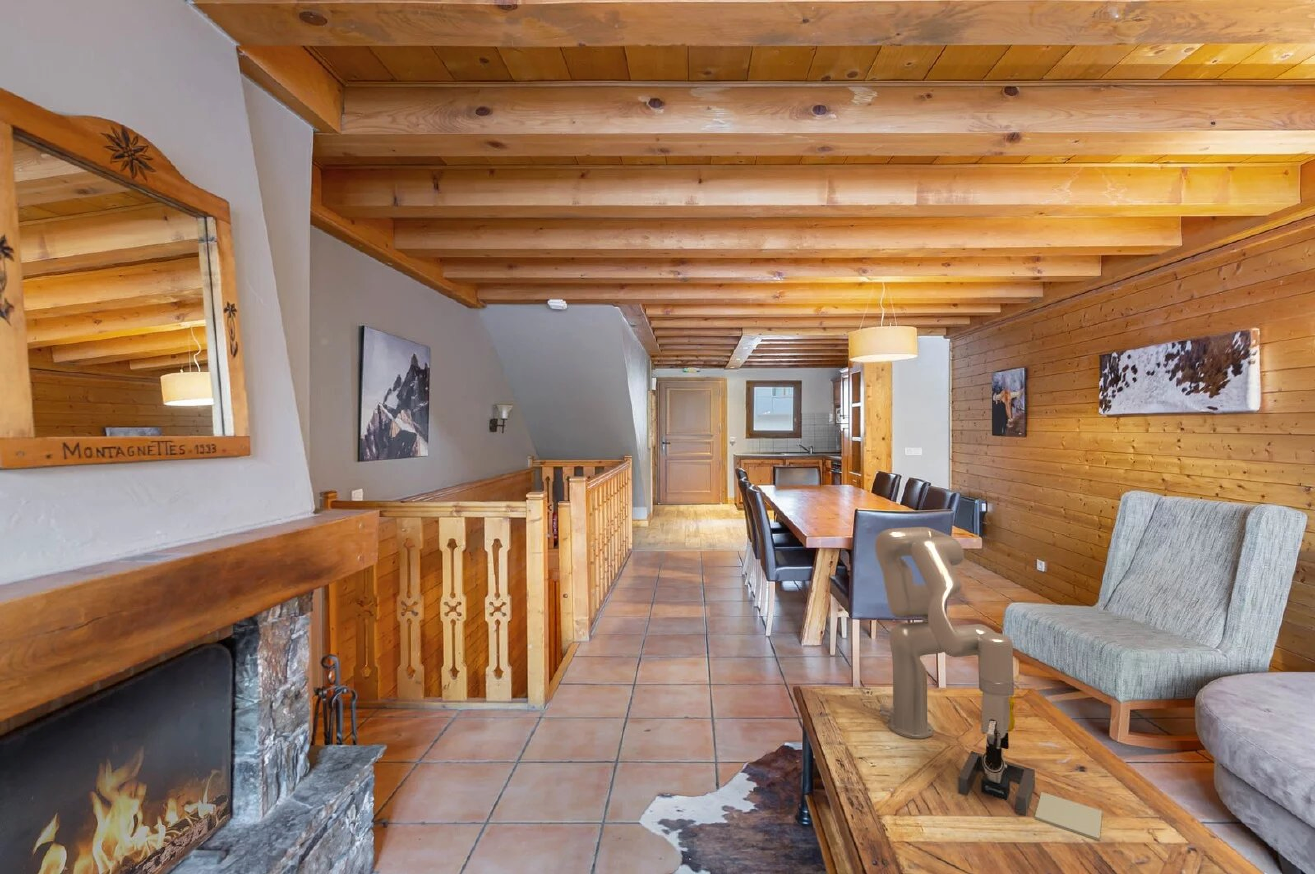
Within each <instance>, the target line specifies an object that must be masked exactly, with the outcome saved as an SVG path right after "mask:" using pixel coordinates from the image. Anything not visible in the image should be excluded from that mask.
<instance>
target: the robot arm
mask: <svg viewBox="0 0 1315 874" xmlns="http://www.w3.org/2000/svg"><path fill="white" fill-rule="evenodd" d="M874 550H875V555H876V558H877V562H878V563H879V567H880V569H881V572H882V576H883V582H884V588H885V592H886V599H887V604H888V608H889V611H890V613H891V614H892V615H893V616H894V617H895V618H898V619H910V618H921V620H922V621H912V622H903V623H902V622H901V623H899V624H896V625H895V626H892V628H891V629H890V631H889V634H888V640H889V645H890V652H891V658H892V707H890V708H889V707H887V706H885V705H879V707H878V708H879V709H878V710H879V711H878V712H880V716H883V717H886V718H888V719H887V726H888V729H890V731H891V732H893V733H894V734H897V735H900V736H902V737H905V738H910V739H919V740H920V739H927V738H929V737H930V736H932V735H933V734H934V727H933V726H932V725H931V723H929V722H928V672H927V668H926V666H925V665H924V663H923V662H922V660H921V657H923V656H927V655H928V656H929V655H937V654H938V655H939V654H943V653H944V654H946V655H947V656H949V657H951V658H952V657H953V658H962V657H972V656H978V661H977V662H978V663H977V664H978V689H979V691H980V692H981V693H982V697H981V716H980V717H981V720H980V725H981V727H980V728H981V729H980V732H981V734H983V735H986V742H985V743H986V744H985V752H986V761H987V762H988V763H992V764H995V765H999V766H1001V765H1002V751H1003V749H1005V750H1009V748H1010V747H1009V745H1010V743H1009V740H1010V739H1009V731H1008V727H1009V721H1010V708H1009V697H1011V696H1013V697H1014V695H1015V691H1014V689H1015V688H1014V687H1015V685H1014V648H1013V645H1014V644H1013V641H1012V639H1011V638H1010V637H1009V636H1008V635H1005V634H1002V633H999V632H996V631H995V630H993V629H992V628H990V627H989V626H987V625H984V624H979V623H975V624H964V625H963V624H962V625H952V624H951V621H950V620H949V617H948V615H947V613H946V602H947V600H949V599H951V598H952V597H954V596H955V595H957V594H959V592H960V591H961V590H962V582H961V580H960V579H959V577H958V574H957V573H956V571H955V569H954V566H958V565H960V564H961V563H962V562H963V561H964V559H965V558H964V557H965V553H964V549H963V545H962V544H961V543H960V542H959V541H958V539H956V538H955V537H953V536H951V535H949V534H947V533H944V532H941V531H939V530H936V529H934V528H931V527H928V526H927V527H926V526H917V527H916V526H915V527H914V526H913V527H895V528H889V529H885V530H882V531H880V532H879V534H878V535H877V537H876V539H875V542H874ZM908 556H909V557H910V556H911V557H912V559H913V561H914V563H915V565H916V567H917V569H918V571H919V573H920V576H921V577H922V580H923V582H924V584H915V580H914V576H913V571H912V568H911V567H910V566H909V564H908V563H907V561H905V560H904V558H902V557H908ZM1001 748H1002V750H1001Z"/></svg>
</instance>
